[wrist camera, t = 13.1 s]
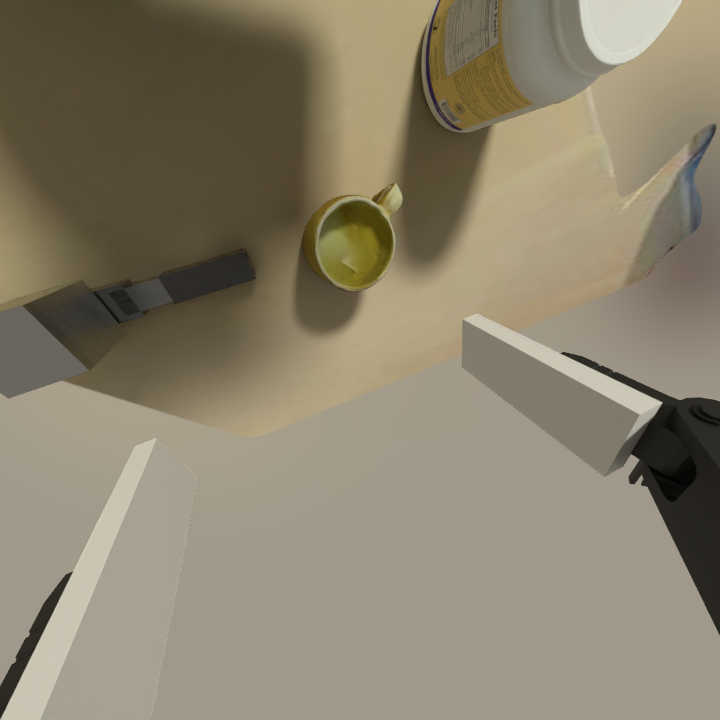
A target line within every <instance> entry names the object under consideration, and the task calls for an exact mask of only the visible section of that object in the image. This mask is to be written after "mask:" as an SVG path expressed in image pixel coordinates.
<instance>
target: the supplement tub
mask: <svg viewBox="0 0 720 720" xmlns="http://www.w3.org/2000/svg"><path fill="white" fill-rule="evenodd" d="M681 2H682V0H437V1H436V3H435V5H434V7H433V10H432V12H431V14H430V17H429V20H428V23H427V27H426V31H425V35H424V40H423V48H422V59H421V71H422V82H423V88H424V93H425V97H426V100H427V103H428V105H429V108H430V110H431V112H432V114H433V115H434V117H435V118H436V120H437V121H438V122H439V123H440V124H441V125H442V126H444V127H445V128H447V129H449V130H451V131H454V132H459V133H468V132H473V131H476V130H478V129H481V128H484V127H487V126H490V125H493V124H496V123H499V122H502V121H505V120H507V119H510V118H513V117H516V116H519V115H522V114H525V113H528V112H531V111H534V110H537V109H540V108H543V107H546V106H549V105H552V104H556V103H560V102H562V101H565V100H567V99H569V98H571V97H573V96H575V95H576V94H578V93H580V92H581V91H583V90H584V89H586V88H587V87H588V86H589V85H591V84H592V83H593V82H594V81H595V80H596V79H597V78H598V77H599V76H600V75H603V74H605V73H608V72H609V71H611V70H613V69H614V68H616V67H617V66H619V65H621V64H624V63H626V62H628V61H630V60H632V59H634V58H635V57H637V56H638V55H639V54H641V53H642V52H643V51H644V50H645V49H646V48H647V47H648V46H649V45H651V44H652V42H653V41H654V40H655V39H656V38H657V37H658V36H659V35H660V33H661V32H662V31H663V30H664V28H665V27H666V25H667V24H668V23H669V21H670V20H671V18H672V17H673V15H674V14H675V12H676V10H677V9H678V7H679V5H680V3H681Z"/></svg>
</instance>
